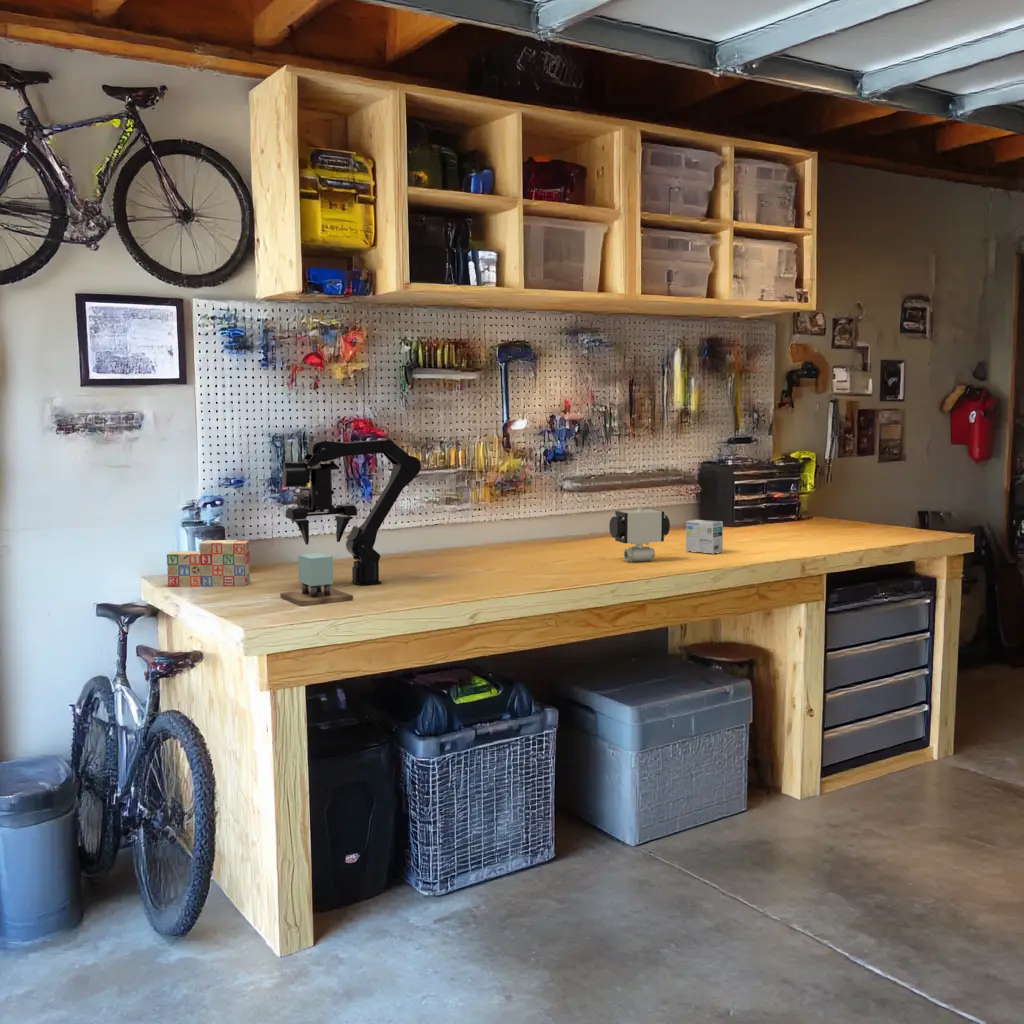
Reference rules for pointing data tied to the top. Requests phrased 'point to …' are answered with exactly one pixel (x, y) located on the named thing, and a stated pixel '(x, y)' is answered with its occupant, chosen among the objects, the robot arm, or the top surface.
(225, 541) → the stack of blocks
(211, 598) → the top surface
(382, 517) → the robot arm
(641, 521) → the ball valve
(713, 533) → the light bulb box
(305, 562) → the teal block
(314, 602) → the peg stand
